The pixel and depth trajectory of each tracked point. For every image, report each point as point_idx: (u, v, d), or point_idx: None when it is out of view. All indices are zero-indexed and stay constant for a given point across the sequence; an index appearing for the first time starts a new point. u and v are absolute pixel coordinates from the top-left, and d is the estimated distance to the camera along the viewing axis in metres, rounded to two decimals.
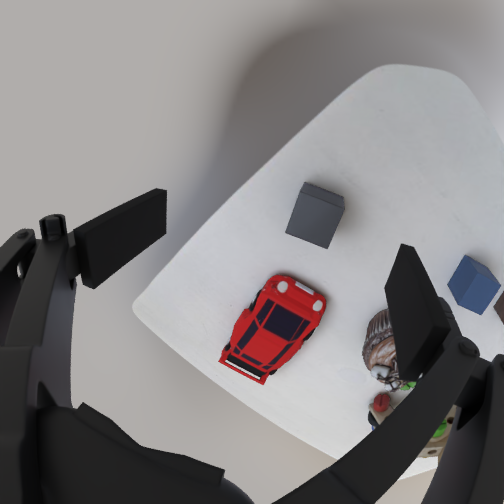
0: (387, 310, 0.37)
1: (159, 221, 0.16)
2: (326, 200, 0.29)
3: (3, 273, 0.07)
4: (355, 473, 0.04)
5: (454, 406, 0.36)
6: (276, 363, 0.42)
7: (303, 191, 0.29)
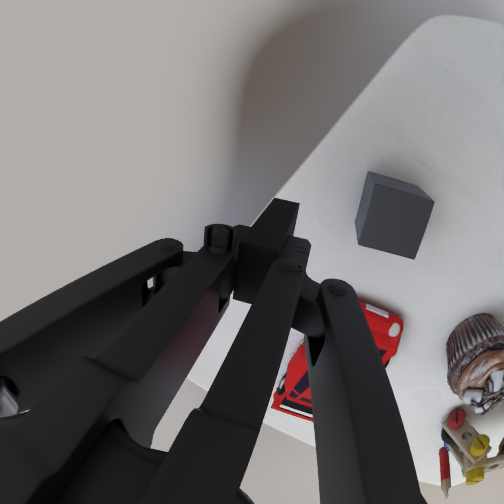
0: (470, 319, 0.25)
1: None
2: (409, 192, 0.19)
3: (118, 289, 0.08)
4: (226, 405, 0.05)
5: None
6: None
7: (378, 183, 0.19)
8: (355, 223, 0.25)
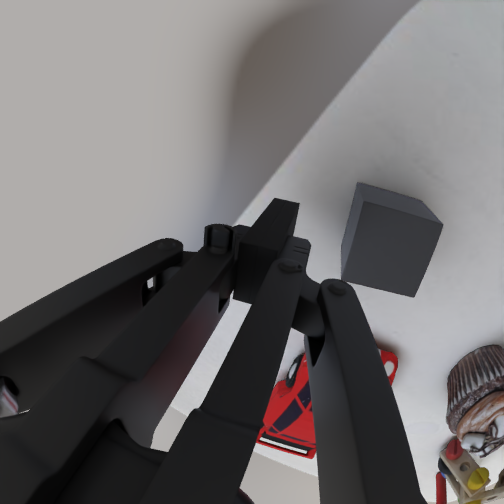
0: (476, 353, 0.21)
1: None
2: (411, 212, 0.14)
3: (118, 289, 0.08)
4: (226, 405, 0.05)
5: None
6: None
7: (368, 200, 0.15)
8: (341, 247, 0.20)
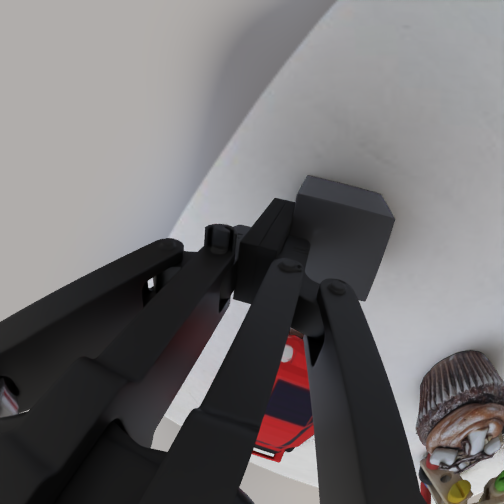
0: (450, 359, 0.20)
1: None
2: (355, 205, 0.13)
3: (118, 289, 0.08)
4: (225, 405, 0.05)
5: None
6: (292, 443, 0.26)
7: (305, 192, 0.14)
8: None
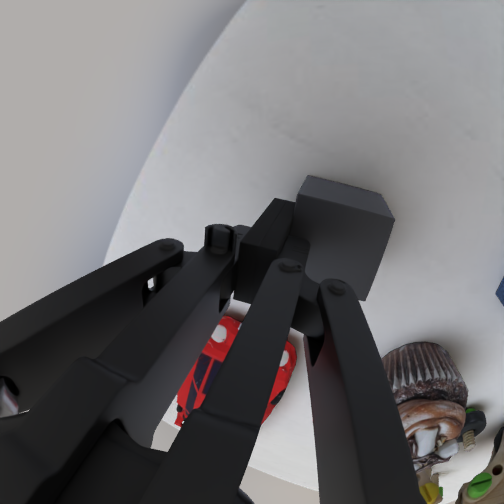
0: (401, 350, 0.21)
1: None
2: (355, 205, 0.13)
3: (118, 289, 0.08)
4: (225, 405, 0.05)
5: (502, 448, 0.18)
6: None
7: (305, 193, 0.14)
8: None
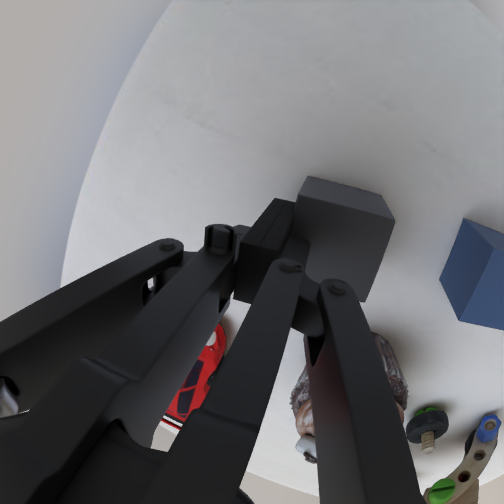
0: None
1: None
2: (356, 206, 0.13)
3: (118, 289, 0.08)
4: (225, 405, 0.05)
5: (471, 453, 0.19)
6: (189, 412, 0.28)
7: (305, 193, 0.14)
8: None
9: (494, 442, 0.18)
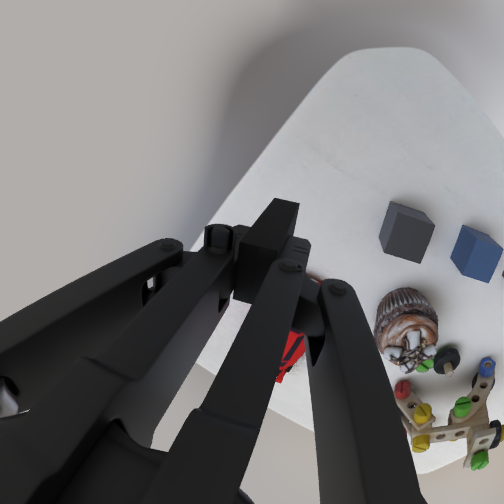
0: (393, 292, 0.37)
1: None
2: (419, 219, 0.28)
3: (118, 289, 0.08)
4: (226, 406, 0.05)
5: (477, 384, 0.34)
6: (290, 359, 0.42)
7: (399, 212, 0.29)
8: (379, 237, 0.34)
9: (492, 377, 0.33)
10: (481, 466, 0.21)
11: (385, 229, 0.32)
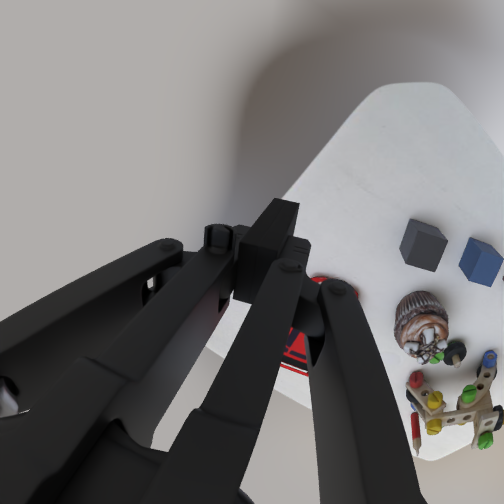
0: (410, 294, 0.41)
1: None
2: (435, 235, 0.33)
3: (118, 289, 0.08)
4: (226, 405, 0.05)
5: (481, 374, 0.39)
6: None
7: (419, 230, 0.33)
8: (400, 249, 0.39)
9: (494, 368, 0.38)
10: (487, 445, 0.26)
11: (406, 243, 0.37)
